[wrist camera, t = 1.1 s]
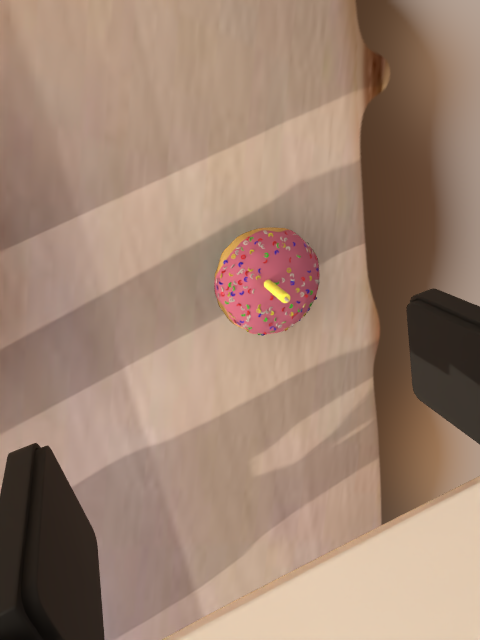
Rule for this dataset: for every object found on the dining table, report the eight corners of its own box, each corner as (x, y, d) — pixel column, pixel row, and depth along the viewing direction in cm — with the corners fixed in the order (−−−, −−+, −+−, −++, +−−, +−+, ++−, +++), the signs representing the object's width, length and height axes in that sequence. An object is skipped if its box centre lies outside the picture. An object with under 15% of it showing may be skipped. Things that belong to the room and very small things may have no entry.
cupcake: (184, 297, 39) (228, 352, 28) (225, 201, 37) (287, 222, 27) (269, 326, 42) (336, 386, 32) (308, 241, 41) (393, 273, 30)
